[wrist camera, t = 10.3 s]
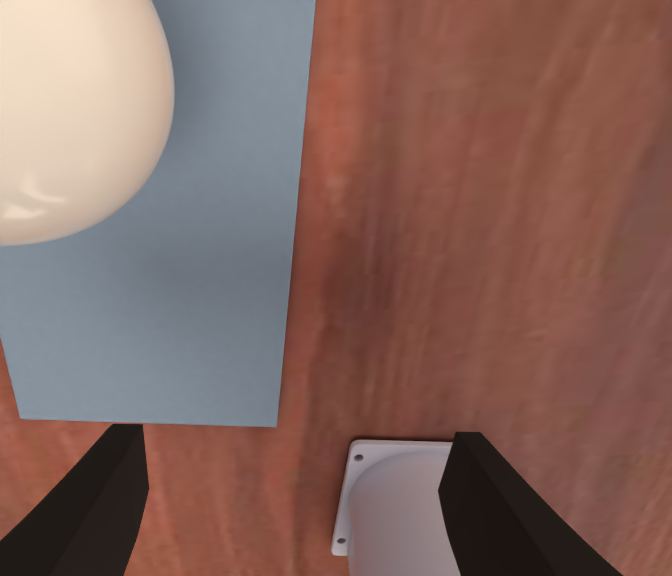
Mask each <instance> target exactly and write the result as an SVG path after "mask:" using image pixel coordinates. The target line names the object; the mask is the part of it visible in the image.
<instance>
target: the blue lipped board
mask: <svg viewBox="0 0 672 576" xmlns="http://www.w3.org/2000/svg"><path fill="white" fill-rule="evenodd" d="M152 2H153V4H154V6H155V8H156V11H157V13H158V15H159V18H160V20H161V23H162V26H163V29H164V32H165V35H166V38H167V42H168V45H169V49H170V54H171V59H172V65H173V72H174V84H175V104H174V114H173V121H172V126H171V130H170V134H169V138H168V141H167V144H166V147H165V150H164V152H163V154H162V157H161V159H160V161H159V163H158V165H157V166H156V168H155V170H154V172H153V173H152V175H151V176H150V178H149V179H148V181H147V182H146V183H145V185H144V186H143V187H142V188H141V189H140V191H139V192H138V193H137V194H136V195H135V196H134V197H133V198H132V199H131V200H130V201H129V202H128V203H127V204H126V205H124V206H123V207H122V208H121V209H120V210H118V211H117V212H116V213H114V214H113V215H111V216H110V217H108V218H107V219H105V220H103V221H102V222H100V223H98V224H96V225H94V226H92V227H90V228H88V229H86V230H84V231H81V232H79V233H76V234H74V235H71V236H68V237H64V238H61V239H57V240H53V241H49V242H44V243H38V244H32V245H24V246H9V247H0V338H1V342H2V346H3V350H4V354H5V358H6V363H7V367H8V371H9V375H10V379H11V383H12V387H13V391H14V395H15V399H16V404H17V408H18V412H19V416H20V419H38V420H69V421H101V422H132V423H163V424H194V425H225V426H256V427H277V420H278V409H279V398H280V387H281V376H282V365H283V354H284V343H285V332H286V321H287V310H288V299H289V288H290V277H291V266H292V256H293V245H294V234H295V223H296V212H297V201H298V190H299V179H300V168H301V157H302V146H303V135H304V124H305V113H306V102H307V91H308V80H309V69H310V58H311V48H312V37H313V26H314V15H315V4H316V0H152Z"/></svg>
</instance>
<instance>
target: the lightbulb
mask: <svg viewBox="0 0 672 576" xmlns="http://www.w3.org/2000/svg"><path fill="white" fill-rule="evenodd" d="M174 104H175V84H174V72H173V65H172V59H171V54H170V49H169V45H168V42H167V38H166V35H165V32H164V29H163V26H162V23H161V20H160V18H159V15H158V13H157V11H156V8H155V6H154V4H153V2H152V0H0V247H9V246H24V245H32V244H38V243H44V242H49V241H53V240H57V239H61V238H64V237H68V236H71V235H74V234H76V233H79V232H81V231H84V230H86V229H88V228H90V227H92V226H94V225H96V224H98V223H100V222H102V221H103V220H105V219H107V218H108V217H110V216H111V215H113V214H114V213H116V212H117V211H118V210H120V209H121V208H122V207H123V206H124V205H126V204H127V203H128V202H129V201H130V200H131V199H132V198H133V197H134V196H135V195H136V194H137V193H138V192H139V191H140V189H141V188H142V187H143V186H144V185H145V183H146V182H147V181H148V179H149V178H150V176H151V175H152V173H153V172H154V170H155V168H156V166H157V165H158V163H159V161H160V159H161V157H162V154H163V152H164V150H165V147H166V144H167V141H168V138H169V134H170V130H171V126H172V121H173V114H174Z"/></svg>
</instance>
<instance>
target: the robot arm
mask: <svg viewBox="0 0 672 576" xmlns="http://www.w3.org/2000/svg"><path fill="white" fill-rule="evenodd" d="M356 455H359V456H356ZM148 491H149V483H148V473H147V463H146V453H145V443H144V434H143V424H113V425H111V426H110V427H109V428H108V429H107V430H106V431H105V432H104V433H103V435H102V436H101V437H100V438H99V439H98V440H97V441H96V443H95V444H94V445H93V446H92V447H91V448H90V449H89V450H88V452H87V453H86V454H85V455H84V456H83V457H82V458H81V459H80V460H79V462H78V463H77V464H76V465H75V466H74V467H73V468H72V469H71V470H70V471H69V472H68V473H67V475H66V476H65V477H64V478H63V479H62V480H61V481H60V482H59V483H58V484H57V485H56V486H55V487H54V488H53V489H52V490H51V491H50V492H49V493H48V494H47V495H46V496H45V497H44V499H43V500H42V501H41V502H40V503H39V504H38V505H37V506H36V507H35V508H34V509H33V510H32V511H31V512H30V513H29V514H28V515H27V516H26V517H25V518H24V519H23V520H22V521H21V522H20V523H19V524H17V525H16V526H15V527H14V528H13V529H12V530H11V531H10V532H9V533H8V534H7V535H6V536H5V537H4V538H3V539H2V540H1V541H0V576H123V575H124V572H125V570H126V567H127V564H128V561H129V558H130V556H131V553H132V550H133V547H134V545H135V542H136V539H137V536H138V532H139V528H140V524H141V520H142V516H143V512H144V508H145V504H146V500H147V496H148ZM331 553H332V554H334V555H337V556H347V557H348V566H349V575H350V576H623V575H622V574H621V573H619V572H618V571H617V570H616V569H615V568H614V567H612V566H611V565H610V564H609V563H608V562H607V561H606V560H605V559H604V558H602V557H601V556H600V555H599V554H598V553H597V552H596V551H595V550H594V549H593V548H592V547H591V546H590V545H588V544H587V543H586V542H585V541H584V540H583V539H582V538H581V537H580V536H579V535H578V534H577V533H576V532H575V531H574V530H573V529H572V528H571V527H570V526H569V525H568V524H567V523H566V522H565V521H564V520H563V519H562V518H561V517H560V516H559V515H558V514H557V513H556V512H555V511H554V510H553V509H552V508H551V507H550V506H549V505H548V504H547V503H546V502H545V501H544V500H543V499H542V498H541V497H540V496H539V495H538V494H537V493H536V492H535V491H534V490H533V489H532V488H531V487H530V485H529V484H528V483H527V482H526V481H525V480H524V479H523V478H522V477H521V476H520V475H519V474H518V473H517V471H516V470H515V469H514V468H513V467H512V466H511V465H510V464H509V463H508V462H507V461H506V460H505V458H504V457H503V456H502V455H501V454H500V453H499V452H498V451H497V450H496V449H495V448H494V446H493V445H492V444H491V443H490V442H489V441H488V440H487V439H486V438H485V437H484V436H483V435H482V434H481V433H480V432H456V433H455V436H454V440H453V442H426V441H392V440H356V441H353V442H352V443H351V445H350V448H349V454H348V459H347V464H346V469H345V474H344V480H343V485H342V490H341V495H340V500H339V506H338V511H337V516H336V521H335V526H334V532H333V537H332V542H331Z"/></svg>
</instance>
